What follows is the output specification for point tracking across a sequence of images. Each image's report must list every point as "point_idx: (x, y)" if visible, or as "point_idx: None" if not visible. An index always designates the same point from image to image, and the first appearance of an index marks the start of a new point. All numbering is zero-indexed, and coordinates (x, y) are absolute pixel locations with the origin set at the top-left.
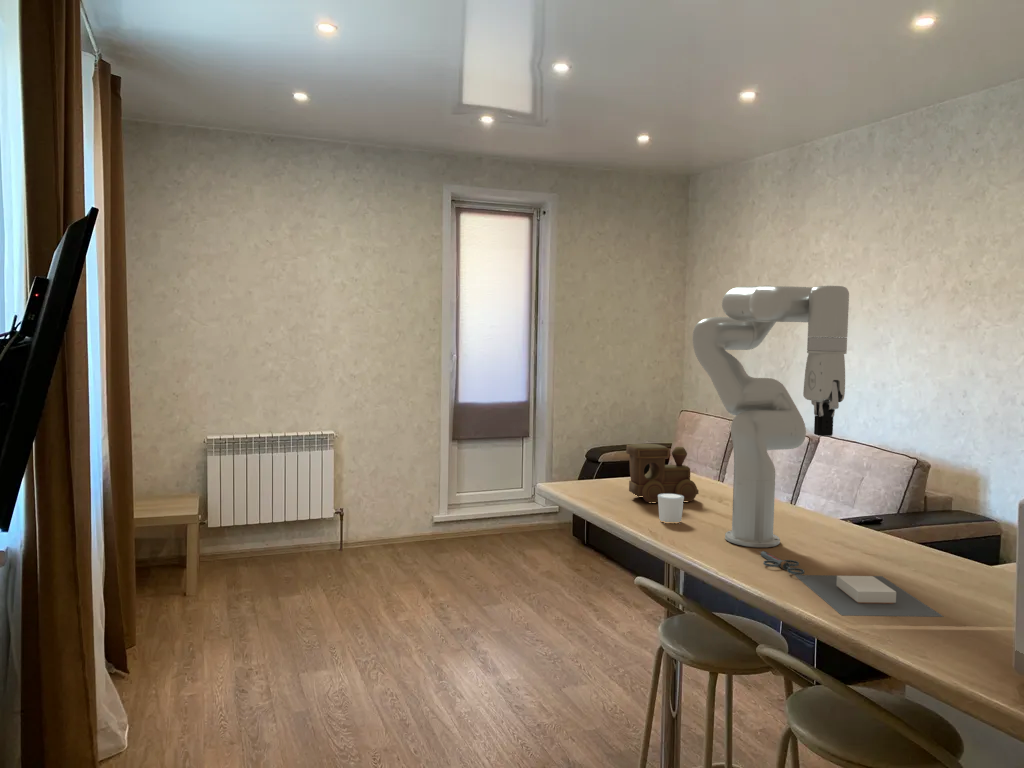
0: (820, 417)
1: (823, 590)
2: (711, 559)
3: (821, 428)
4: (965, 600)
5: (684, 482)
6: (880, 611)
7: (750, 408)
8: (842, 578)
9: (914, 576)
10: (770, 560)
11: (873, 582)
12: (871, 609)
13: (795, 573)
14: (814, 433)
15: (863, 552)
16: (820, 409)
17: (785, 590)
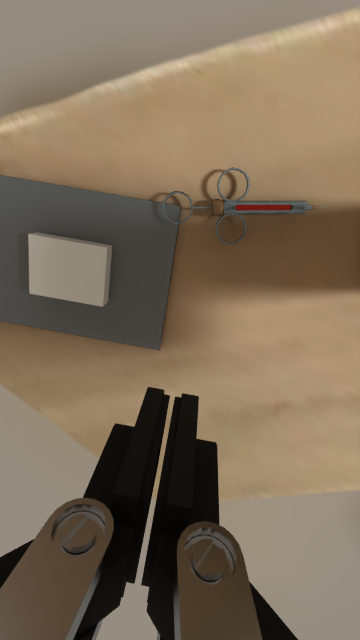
0: (111, 502)
1: (98, 212)
2: (324, 73)
3: (129, 434)
4: (68, 392)
5: None
6: (9, 246)
7: None
8: (91, 248)
9: None
10: (247, 190)
11: (72, 287)
12: (16, 238)
13: (165, 199)
14: (191, 395)
15: (288, 405)
16: (42, 581)
17: (115, 147)
